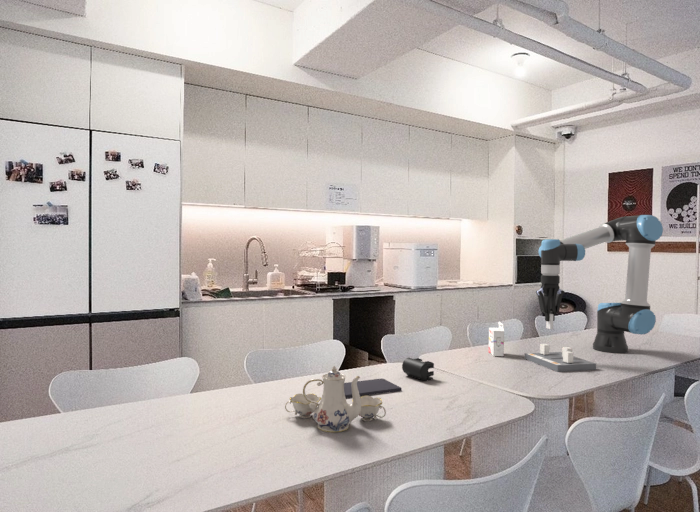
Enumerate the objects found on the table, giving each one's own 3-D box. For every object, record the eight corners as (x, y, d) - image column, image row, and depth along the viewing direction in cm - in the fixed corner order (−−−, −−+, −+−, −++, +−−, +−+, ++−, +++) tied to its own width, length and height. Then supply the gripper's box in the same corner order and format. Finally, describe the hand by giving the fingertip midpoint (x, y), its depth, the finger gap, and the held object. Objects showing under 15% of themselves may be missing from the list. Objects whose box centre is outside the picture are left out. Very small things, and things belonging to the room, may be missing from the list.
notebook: (343, 400, 151) (401, 392, 160) (343, 395, 151) (401, 387, 160) (328, 389, 162) (382, 382, 171) (328, 384, 162) (382, 378, 171)
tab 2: (567, 356, 204) (567, 346, 204) (572, 357, 201) (572, 348, 201) (562, 356, 203) (562, 347, 203) (566, 358, 200) (567, 348, 200)
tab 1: (544, 352, 210) (545, 343, 210) (549, 354, 207) (549, 345, 207) (539, 353, 209) (540, 344, 209) (544, 354, 206) (544, 345, 206)
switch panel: (559, 357, 214) (559, 351, 214) (596, 369, 193) (596, 363, 193) (524, 358, 210) (524, 352, 210) (557, 371, 188) (557, 365, 188)
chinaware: (383, 418, 138) (383, 360, 140) (388, 435, 122) (389, 369, 123) (286, 417, 138) (288, 359, 139) (278, 433, 121) (280, 367, 123)
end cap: (401, 376, 178) (401, 358, 178) (415, 373, 183) (415, 356, 182) (420, 382, 170) (420, 363, 170) (434, 379, 174) (434, 361, 174)
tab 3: (568, 360, 195) (568, 351, 195) (573, 362, 192) (573, 352, 192) (562, 361, 195) (563, 351, 195) (567, 362, 192) (568, 352, 192)
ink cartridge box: (487, 352, 222) (488, 320, 222) (498, 352, 222) (499, 321, 222) (492, 356, 213) (493, 323, 213) (504, 357, 213) (504, 324, 213)
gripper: (557, 274, 213) (556, 326, 214) (531, 274, 210) (531, 327, 211) (569, 275, 206) (568, 329, 206) (542, 275, 203) (542, 330, 203)
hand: (549, 328), depth 208 cm, fingers closed
